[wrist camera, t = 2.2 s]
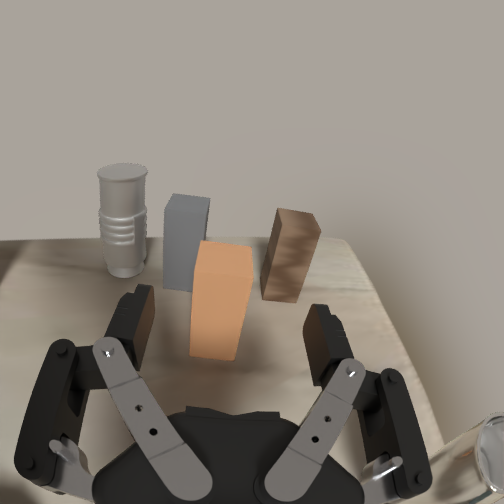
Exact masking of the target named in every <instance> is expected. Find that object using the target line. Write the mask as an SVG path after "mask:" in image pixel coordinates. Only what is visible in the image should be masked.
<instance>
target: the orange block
mask: <svg viewBox="0 0 504 504" xmlns="http://www.w3.org/2000/svg"><path fill="white" fill-rule="evenodd" d="M253 278H254V277H253V263H252V249H251V247H248V246H240V245H233V244H225V243H218V242H210V241H203V240H201V242H200V246H199V251H198V255H197V260H196V265H195V269H194V281H193V295H192V311H191V330H190V354H189V356H192V357H199V358H208V359H217V360H227V361H234V359H235V355H236V351H237V346H238V342H239V338H240V334H241V329H242V325H243V321H244V317H245V313H246V308H247V304H248V300H249V296H250V291H251V287H252V283H253Z"/></svg>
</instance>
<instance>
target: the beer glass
mask: <svg viewBox="0 0 504 504" xmlns="http://www.w3.org/2000/svg"><path fill="white" fill-rule="evenodd" d="M428 459H429V463H430V468H431V472H432V476H433V481H432V485H431V487H430V488H429V489H428V490H427V491H426V492H424V493H422V494H420V495H418V496H415V497H413V498H410V499H408V500H405V501H403V502H400V503H398V504H493V503H495V502H497V501H499V500H500V499H502V498H504V412H495V413H492V414H490V415H489V416H488V417H487V418H486V419H484V420H483V421H482V422H480V423H478V424H477V425H476V426H474V427H472V428H471V429H469V430H468V431H466V432H464V433H463V434H461V435H460V436H458V437H457V438H455V439H454V440H452V441H451V442H449V443H448V444H446V445H445V446H444V447H442V448H441V449H439V450H438V451H437V452H435V453H434V454H433V455H432V456H430V457H429V458H428Z"/></svg>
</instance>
